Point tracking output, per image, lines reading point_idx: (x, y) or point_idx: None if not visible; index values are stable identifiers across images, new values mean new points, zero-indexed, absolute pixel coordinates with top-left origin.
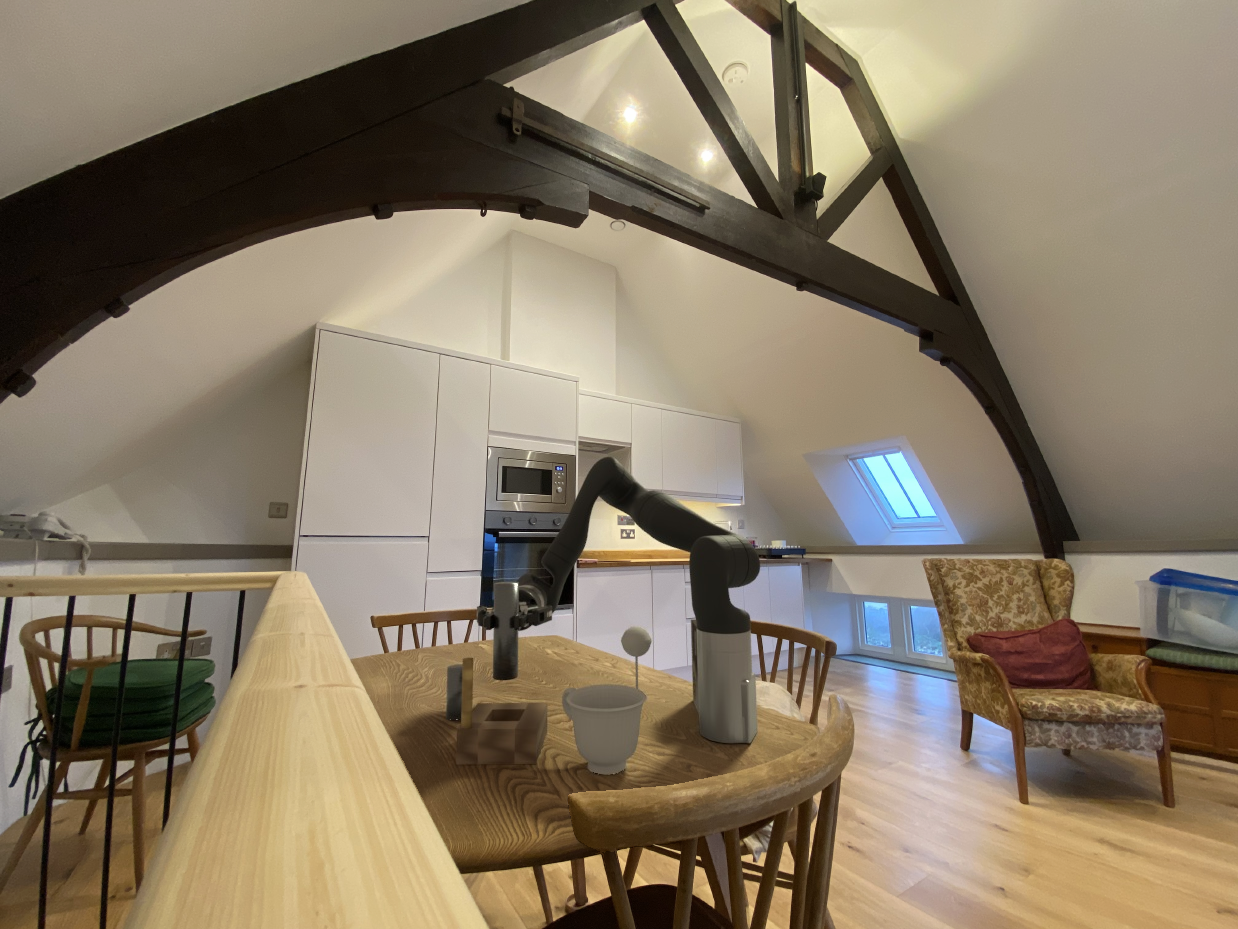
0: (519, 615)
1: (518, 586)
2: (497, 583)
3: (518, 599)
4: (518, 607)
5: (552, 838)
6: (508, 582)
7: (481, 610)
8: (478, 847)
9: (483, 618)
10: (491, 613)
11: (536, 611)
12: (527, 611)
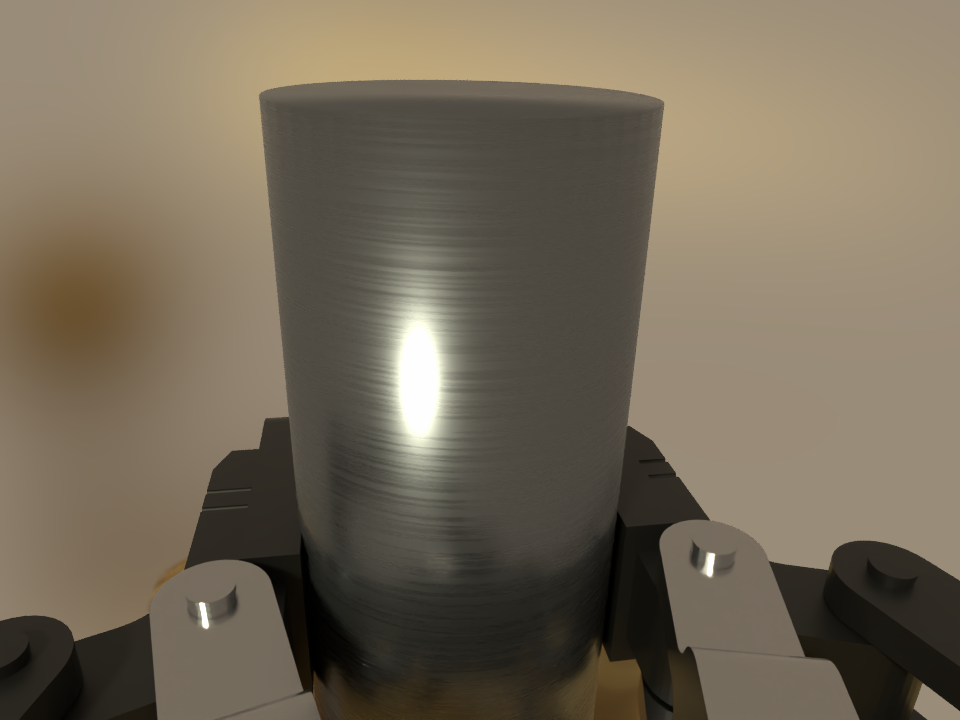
0: (264, 427)
1: (266, 148)
2: (587, 91)
3: (283, 345)
4: (293, 453)
5: (177, 569)
6: (465, 103)
7: (888, 555)
8: None
9: (642, 437)
10: (641, 485)
11: (7, 623)
12: (167, 583)
